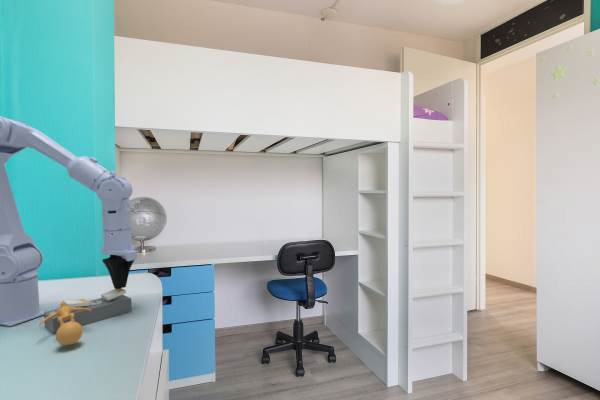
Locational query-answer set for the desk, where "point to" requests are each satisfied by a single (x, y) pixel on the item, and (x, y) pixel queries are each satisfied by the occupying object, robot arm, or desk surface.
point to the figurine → (67, 325)
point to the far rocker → (113, 294)
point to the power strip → (92, 312)
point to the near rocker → (77, 303)
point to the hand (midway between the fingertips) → (120, 287)
